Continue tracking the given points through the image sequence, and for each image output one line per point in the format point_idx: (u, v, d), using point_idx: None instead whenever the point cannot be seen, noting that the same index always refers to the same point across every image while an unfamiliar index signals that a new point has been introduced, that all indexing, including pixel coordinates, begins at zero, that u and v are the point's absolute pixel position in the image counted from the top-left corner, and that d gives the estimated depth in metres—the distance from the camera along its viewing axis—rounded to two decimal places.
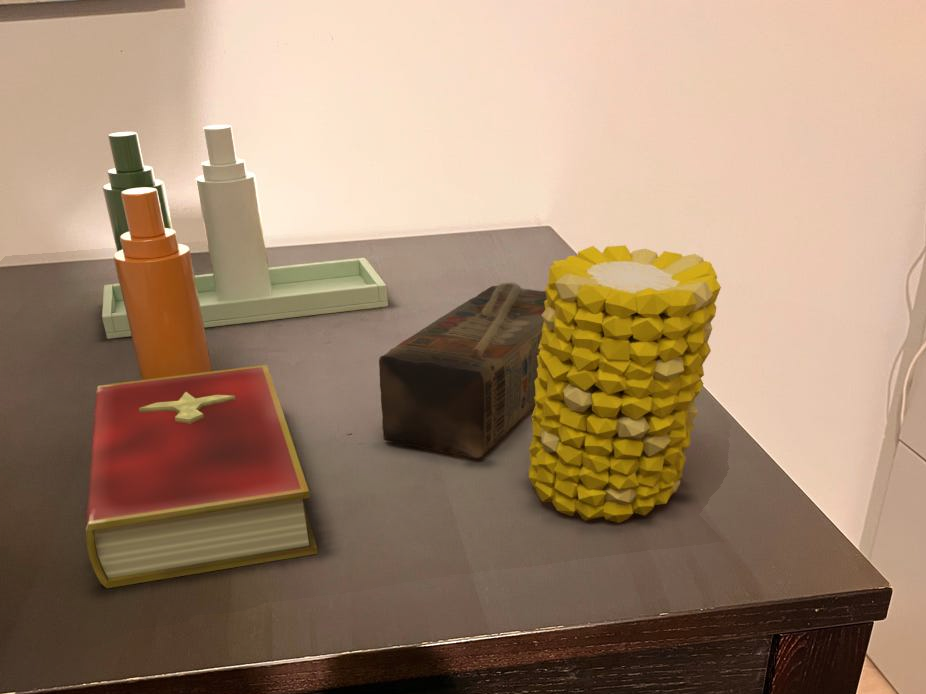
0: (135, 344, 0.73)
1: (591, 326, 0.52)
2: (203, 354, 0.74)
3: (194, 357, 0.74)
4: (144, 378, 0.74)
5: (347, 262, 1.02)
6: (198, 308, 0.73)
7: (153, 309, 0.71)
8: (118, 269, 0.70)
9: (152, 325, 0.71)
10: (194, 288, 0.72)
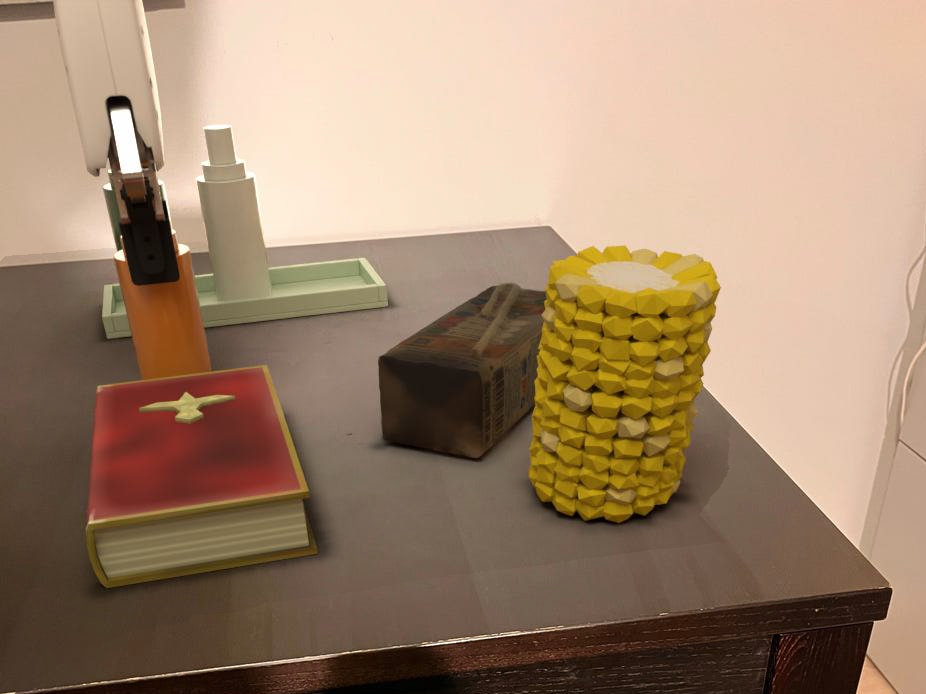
0: (135, 344, 0.73)
1: (591, 326, 0.52)
2: (203, 354, 0.74)
3: (194, 357, 0.74)
4: (144, 378, 0.74)
5: (347, 262, 1.02)
6: (198, 308, 0.73)
7: (153, 309, 0.71)
8: (118, 269, 0.70)
9: (152, 325, 0.71)
10: (194, 288, 0.72)
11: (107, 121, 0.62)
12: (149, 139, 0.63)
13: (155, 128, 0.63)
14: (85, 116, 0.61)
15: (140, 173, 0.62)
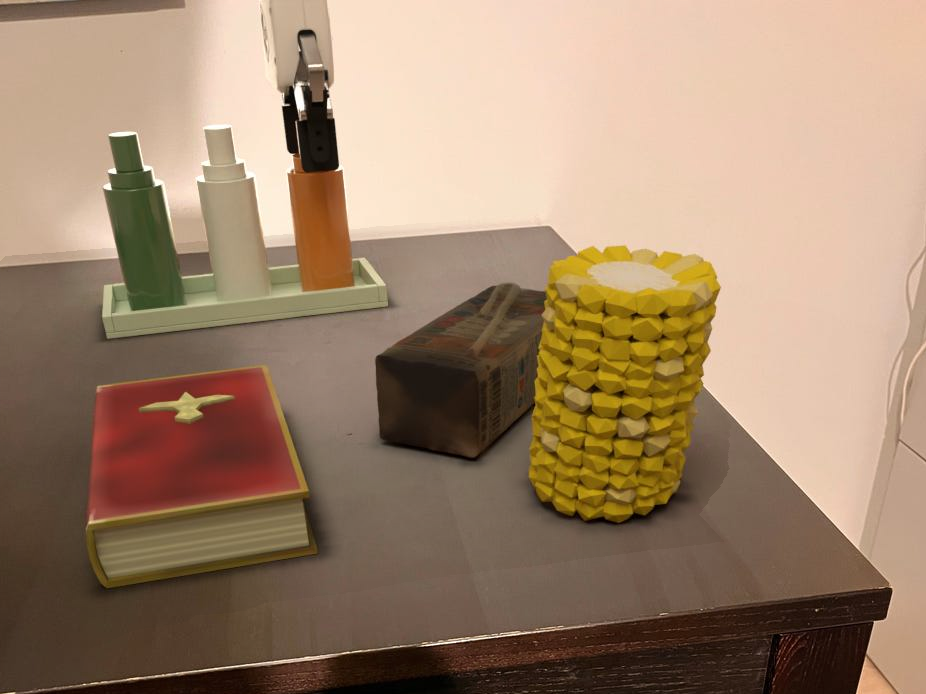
0: (298, 242, 0.94)
1: (591, 326, 0.52)
2: (349, 251, 0.95)
3: (343, 253, 0.95)
4: (303, 270, 0.95)
5: None
6: (347, 214, 0.94)
7: (316, 213, 0.92)
8: (290, 181, 0.91)
9: (314, 225, 0.92)
10: (345, 198, 0.93)
11: (297, 49, 0.82)
12: (324, 47, 0.83)
13: (331, 55, 0.83)
14: (281, 45, 0.82)
15: (321, 64, 0.80)
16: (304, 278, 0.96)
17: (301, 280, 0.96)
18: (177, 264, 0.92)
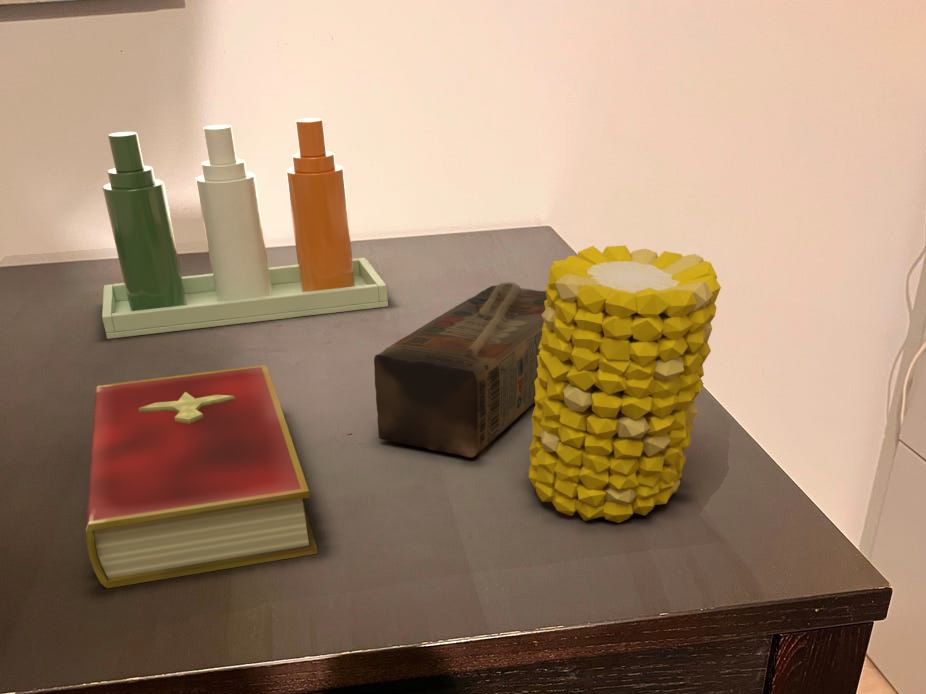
0: (298, 242, 0.94)
1: (591, 326, 0.52)
2: (349, 251, 0.95)
3: (343, 253, 0.95)
4: (303, 270, 0.95)
5: None
6: (347, 214, 0.94)
7: (316, 213, 0.92)
8: (290, 181, 0.91)
9: (314, 225, 0.92)
10: (345, 198, 0.93)
11: None
12: None
13: None
14: None
15: None
16: (304, 278, 0.96)
17: (301, 280, 0.96)
18: (177, 264, 0.92)
